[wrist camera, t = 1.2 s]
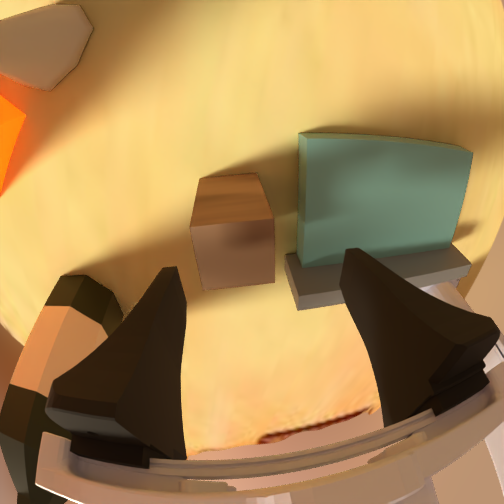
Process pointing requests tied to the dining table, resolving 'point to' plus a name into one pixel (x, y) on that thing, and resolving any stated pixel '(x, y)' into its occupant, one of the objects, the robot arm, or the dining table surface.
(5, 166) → the orange juice
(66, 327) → the wine bottle
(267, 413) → the dining table surface
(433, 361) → the robot arm
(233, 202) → the walnut block
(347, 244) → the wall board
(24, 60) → the flask
